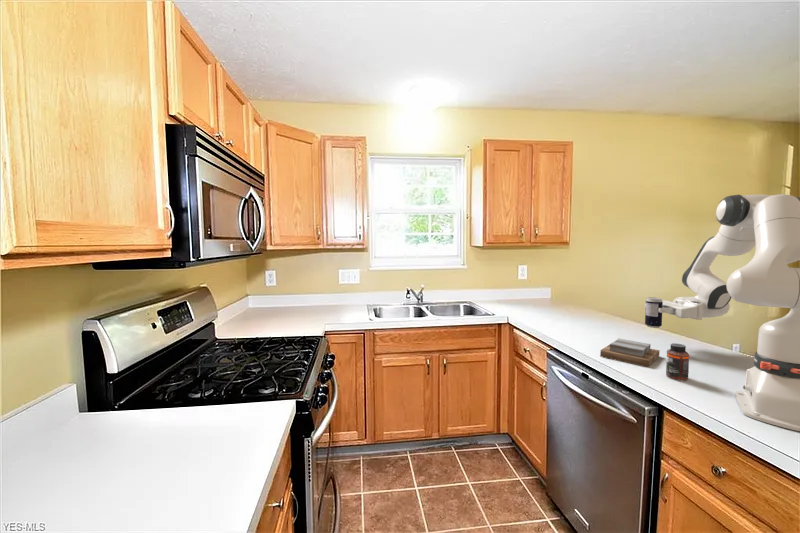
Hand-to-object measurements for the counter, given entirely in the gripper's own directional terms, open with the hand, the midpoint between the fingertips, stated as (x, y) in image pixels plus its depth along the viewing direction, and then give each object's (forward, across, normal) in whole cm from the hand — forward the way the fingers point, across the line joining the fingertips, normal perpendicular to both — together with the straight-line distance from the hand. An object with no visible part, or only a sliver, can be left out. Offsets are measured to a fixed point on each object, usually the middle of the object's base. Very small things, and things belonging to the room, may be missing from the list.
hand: (651, 308), depth 145 cm
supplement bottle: (+12, +28, +18) cm, 35 cm away
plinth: (+14, +7, +18) cm, 24 cm away
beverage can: (-1, 0, +8) cm, 8 cm away
